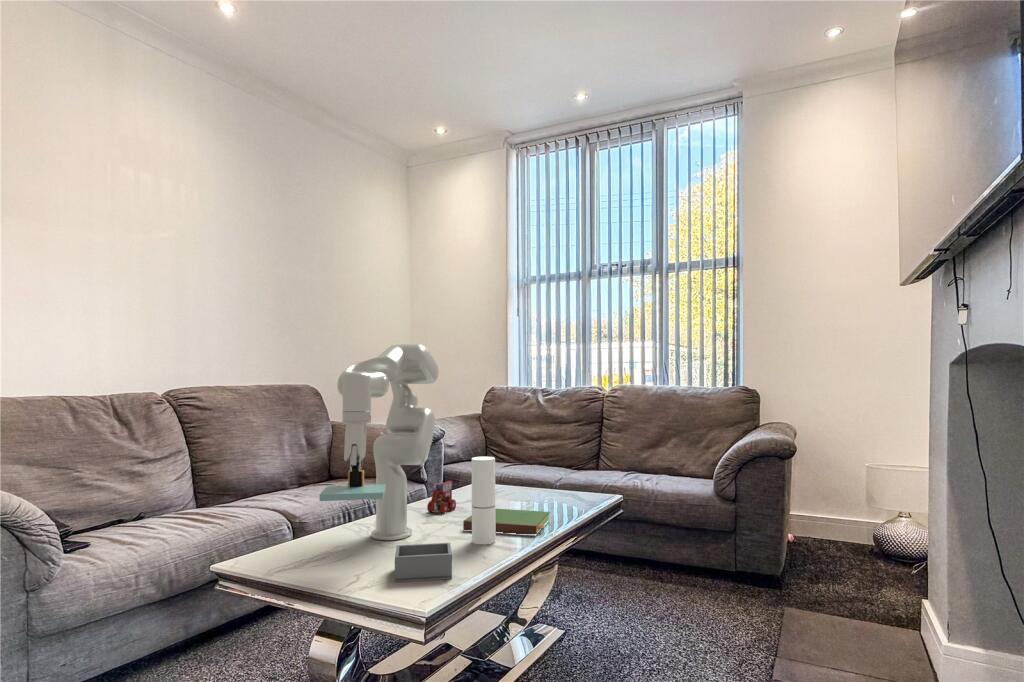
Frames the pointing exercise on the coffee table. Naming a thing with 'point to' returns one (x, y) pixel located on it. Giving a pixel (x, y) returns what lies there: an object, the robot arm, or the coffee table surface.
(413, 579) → the tub
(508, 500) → the coffee table surface
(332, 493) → the lid
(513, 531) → the hardcover book
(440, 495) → the toy fire truck
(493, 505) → the cylindrical container
